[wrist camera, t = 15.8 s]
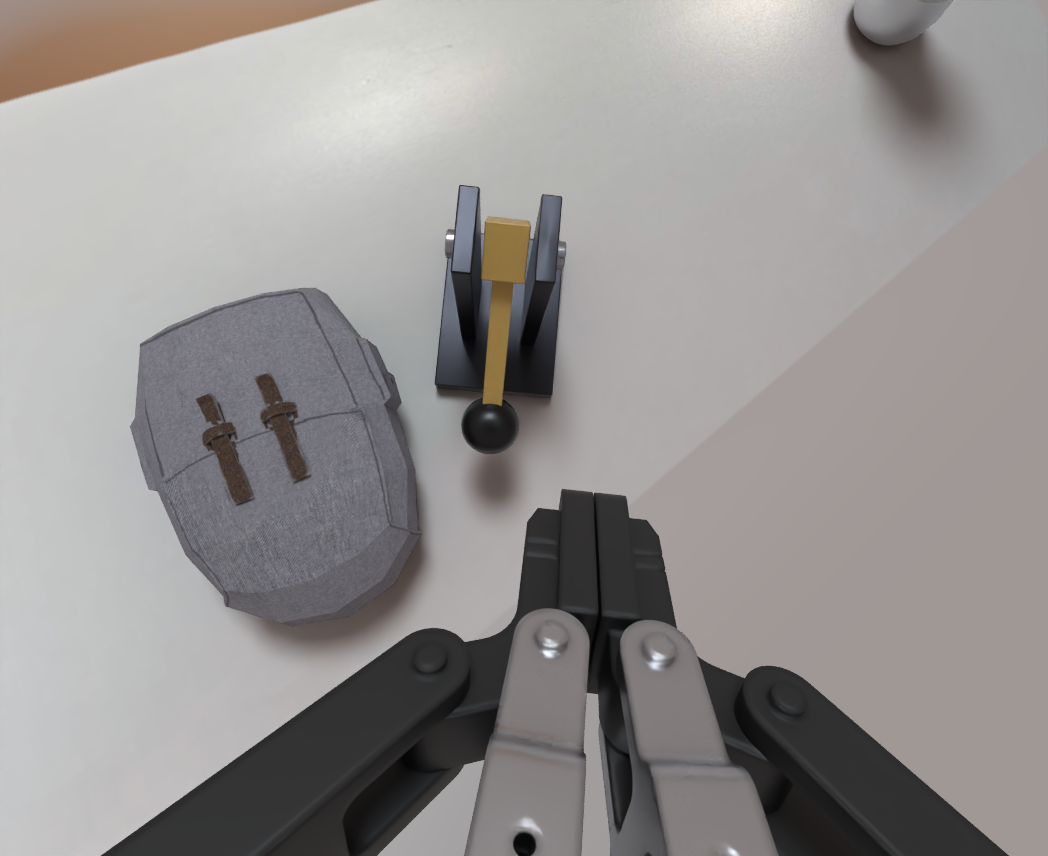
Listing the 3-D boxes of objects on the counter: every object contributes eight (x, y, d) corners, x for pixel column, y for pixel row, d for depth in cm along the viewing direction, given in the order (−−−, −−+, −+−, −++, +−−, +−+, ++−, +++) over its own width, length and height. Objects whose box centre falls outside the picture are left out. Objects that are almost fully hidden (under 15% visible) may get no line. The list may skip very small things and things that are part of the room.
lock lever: (516, 439, 34) (516, 467, 31) (462, 435, 34) (457, 462, 31) (540, 221, 29) (543, 228, 25) (476, 213, 28) (471, 220, 25)
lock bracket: (550, 398, 38) (582, 354, 25) (436, 387, 38) (410, 337, 25) (561, 249, 39) (597, 136, 27) (451, 237, 39) (434, 116, 26)
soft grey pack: (150, 366, 36) (250, 650, 35) (52, 331, 28) (177, 701, 27) (365, 290, 38) (469, 559, 36) (331, 236, 30) (464, 580, 28)
